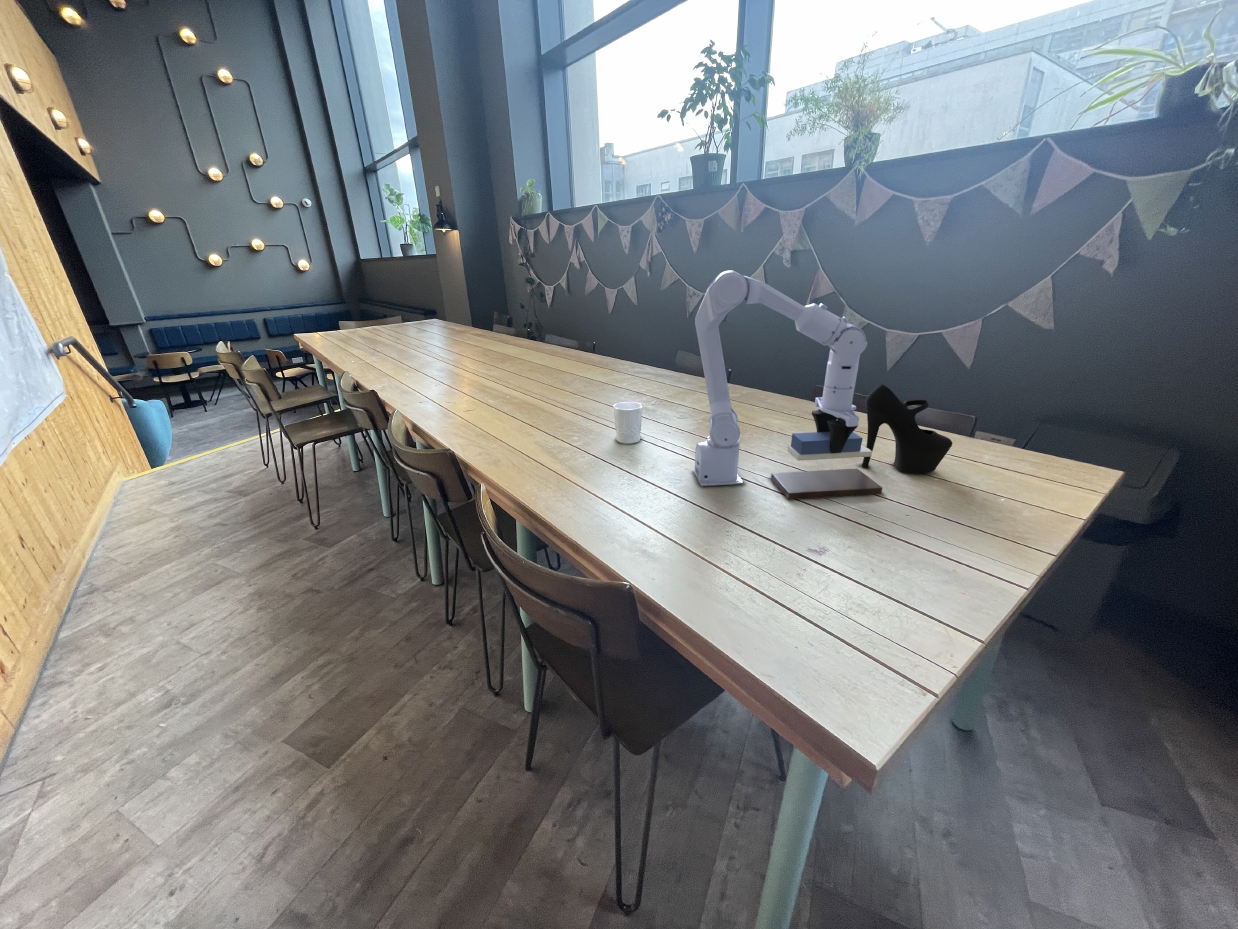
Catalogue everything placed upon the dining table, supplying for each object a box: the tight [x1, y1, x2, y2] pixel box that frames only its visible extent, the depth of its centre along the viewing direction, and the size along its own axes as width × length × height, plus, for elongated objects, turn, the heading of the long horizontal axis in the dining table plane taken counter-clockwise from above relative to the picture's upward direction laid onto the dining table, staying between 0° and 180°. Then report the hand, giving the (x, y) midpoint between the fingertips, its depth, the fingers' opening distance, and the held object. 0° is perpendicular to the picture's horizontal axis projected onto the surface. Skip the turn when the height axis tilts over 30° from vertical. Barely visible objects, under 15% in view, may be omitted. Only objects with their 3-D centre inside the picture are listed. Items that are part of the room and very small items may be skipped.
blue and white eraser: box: [786, 431, 873, 462], centre depth 101 cm, size 16×6×4 cm, turn 94°
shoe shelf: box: [770, 468, 883, 500], centre depth 102 cm, size 20×10×2 cm, turn 94°
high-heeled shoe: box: [861, 383, 953, 475], centre depth 106 cm, size 8×19×20 cm, turn 79°
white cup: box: [612, 401, 643, 445], centre depth 131 cm, size 8×8×10 cm
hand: (829, 447), depth 101 cm, fingers closed on blue and white eraser, 5 cm apart
